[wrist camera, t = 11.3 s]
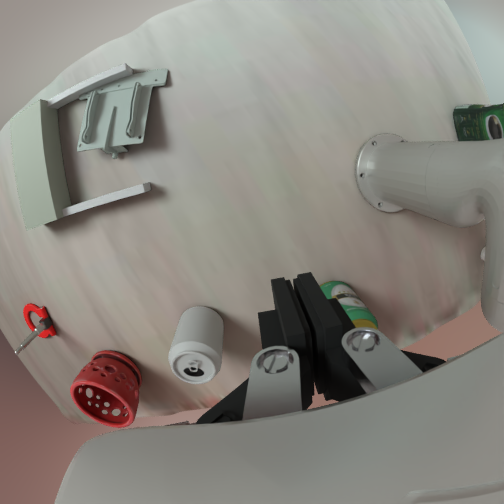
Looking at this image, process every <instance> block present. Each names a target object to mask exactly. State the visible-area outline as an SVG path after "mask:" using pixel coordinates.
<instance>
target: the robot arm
mask: <svg viewBox="0 0 504 504" xmlns="http://www.w3.org/2000/svg"><path fill="white" fill-rule="evenodd" d="M372 143H373V145H372ZM355 174H356V181H357V185H358V188H359V190H360V192H361V194H362V196H363V197H364V199H365V200H366V201H367V202H368V203H369V204H370V205H372V206H373V207H374V208H377V209H379V210H382V211H385V212H397V211H400V210H403V209H404V208H405V209H408V210H411V211H414V212H417V213H419V214H422V215H425V216H427V217H430V218H433V219H435V220H438V221H440V222H443V223H446V224H448V225H451V226H454V227H458V228H466V227H471V226H473V225H476V224H478V223H480V222H481V221H483V220H484V219H485V222H486V248H485V261H484V270H483V280H482V288H481V307H482V311H483V314H484V316H485V318H486V320H487V321H488V322H489V323H490V324H491V326H493V327H494V328H495V329H497V330H498V331H500V332H503V333H502V334H500V335H498V336H496V337H494V338H492V339H490V340H489V341H487V342H485V343H483V344H481V345H479V346H477V347H475V348H473V349H472V350H470V351H468V352H466V353H464V354H462V355H459V356H456V357H451V358H448V359H447V362H446V361H444V360H442V359H439V358H436V357H431V356H426V355H421V354H416V353H412V352H407V351H403V350H399V349H398V348H397V347H396V346H395V345H394V344H393V343H392V342H391V341H390V340H389V339H388V338H387V337H386V336H385V335H384V334H383V333H381V332H380V331H378V330H376V329H374V328H369V327H359V328H356V327H355V325H354V324H353V322H352V321H351V319H350V318H349V316H348V315H347V313H346V312H345V310H344V309H343V307H342V306H341V304H340V303H339V301H338V300H337V298H331V299H327V298H326V296H325V294H324V293H323V291H322V289H321V288H320V286H319V285H318V283H317V281H316V280H315V278H314V277H313V275H312V273H311V272H309V273H304V274H299V275H298V276H297V278H296V279H293V284H294V289H293V287H292V284H291V282H290V280H285V279H284V277H283V278H277V279H272V280H271V285H272V291H273V298H274V304H275V310H271V311H265V312H260V313H258V318H259V325H260V333H261V341H262V348H263V350H261V351H260V352H258V353H257V354H256V355H255V356H254V357H253V360H252V362H251V369H250V375H249V378H248V379H247V380H246V381H244V382H243V383H242V384H241V385H240V386H238V387H237V388H236V389H235V390H234V391H232V392H231V393H230V394H229V395H227V396H226V397H225V398H224V399H223V400H221V401H220V402H219V403H217V404H216V405H215V406H214V407H212V408H211V409H210V410H209V411H207V412H206V413H205V414H203V415H202V416H201V417H200V418H199V419H198V421H197V422H196V423H192V424H190V423H189V422H188V421H186V422H180V423H175V424H170V425H165V426H149V427H136V428H129V429H122V430H118V431H113V432H109V433H105V434H102V435H99V436H96V437H94V438H92V439H90V440H89V441H87V442H85V443H84V444H83V445H82V446H81V448H80V449H79V450H78V452H77V453H76V455H75V456H74V458H73V460H72V461H71V463H70V465H69V467H68V469H67V471H66V474H65V476H64V478H63V481H62V483H61V486H60V489H59V492H58V494H57V497H56V501H55V503H54V504H504V138H501V139H494V140H484V141H424V142H408V141H406V140H405V139H404V138H402V137H400V136H398V135H395V134H388V133H386V134H380V135H376V136H374V137H372V138H370V139H369V140H368V141H367V142H366V143H365V144H364V145H363V146H362V148H361V149H360V152H359V154H358V156H357V160H356V167H355ZM360 174H361V177H360ZM378 203H379V205H378ZM314 383H315V386H316V389H317V392H318V394H322V393H323V394H324V397H325V400H326V401H328V400H331V399H333V400H336V401H339V402H337V403H333V404H329V405H325V406H321V407H317V408H312V409H308V410H307V408H308V407H309V406H310V405H311V404H312V396H313V395H314Z"/></svg>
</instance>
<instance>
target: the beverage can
mask: <svg viewBox="0 0 504 504" xmlns="http://www.w3.org/2000/svg"><path fill="white" fill-rule="evenodd" d="M320 288H321V289H322V291H323V293H324V294H325V296H326V298H327V299H331V298H337V300H338V301H339V303H340V304H341V306H342V307H343V309H344V310H345V312H346V313H347V315H348V316H349V318H350V319H351V321H352V322H353V324H354V325H355V327H356V328H359V327H369V328H374V329H376V330H377V329H378V325H377V321H376V319H375V317H374V316H373V315H372V313H371V312H370V311H369V310H368V308H367V307H366V306H365V305H364V303H363V302H362V301H361V300H360V299H359V297H358V296H357V295H356V294H355V292H354V291H353V290H352V289H351V288H350V286H349V285H347V284H346V283H344V282H340V281H330V282H326V283H324V284H322V285H320Z"/></svg>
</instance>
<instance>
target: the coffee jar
mask: <svg viewBox="0 0 504 504" xmlns="http://www.w3.org/2000/svg"><path fill="white" fill-rule="evenodd" d="M453 118H454V124H455V128H456V133H457V136H458V140H459V141H484V140H494V139H501V138H504V103H503V104H500V105H472V104H470V105H460V106H457V107H456V108H455V109H454V112H453Z"/></svg>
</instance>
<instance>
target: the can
mask: <svg viewBox="0 0 504 504" xmlns="http://www.w3.org/2000/svg"><path fill="white" fill-rule="evenodd" d="M223 333H224V324H223V320H222V318H221V317H220V315H219V314H218V313H217V312H215V311H214V310H212V309H210V308H207V307H203V306H198V307H192V308H189V309H188V310H186V311H185V312H184V313H183V314H182V316H181V318H180V321H179V324H178V327H177V330H176V333H175V336H174V339H173V342H172V345H171V348H170V351H169V357H168V360H169V363H170V366H171V369H172V372H173V373H174V374H175V375H176V376H177V377H178V378H179V379H181V380H182V381H185V382H187V383H191V384H203V383H207V382H209V381H210V380H212V379H213V378H214V376H215V375H216V374H217V373H218V372H219V371H220V368H221V363H222V348H223Z"/></svg>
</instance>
